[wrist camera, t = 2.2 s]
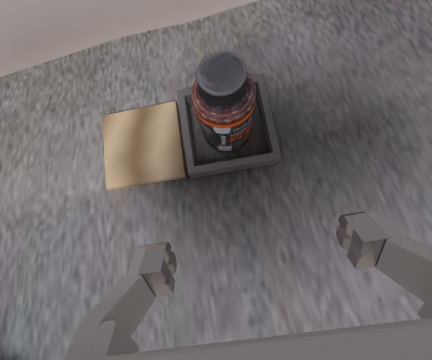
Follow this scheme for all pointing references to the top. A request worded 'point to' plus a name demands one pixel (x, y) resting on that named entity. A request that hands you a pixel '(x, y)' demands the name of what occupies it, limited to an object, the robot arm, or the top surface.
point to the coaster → (143, 146)
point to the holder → (234, 164)
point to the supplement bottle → (224, 100)
